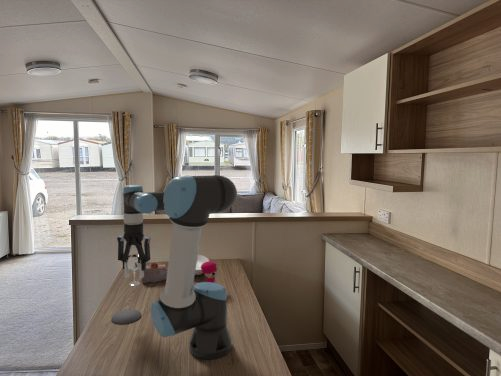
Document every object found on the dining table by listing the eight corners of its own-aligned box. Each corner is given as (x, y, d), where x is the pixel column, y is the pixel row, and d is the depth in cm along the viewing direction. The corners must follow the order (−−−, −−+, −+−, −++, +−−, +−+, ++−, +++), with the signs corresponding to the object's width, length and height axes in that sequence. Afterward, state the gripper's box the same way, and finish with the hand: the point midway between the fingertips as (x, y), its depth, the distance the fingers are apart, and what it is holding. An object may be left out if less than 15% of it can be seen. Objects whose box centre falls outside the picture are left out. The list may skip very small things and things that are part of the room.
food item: (166, 276, 193) (165, 260, 192) (167, 281, 185) (167, 264, 185) (141, 279, 188) (140, 262, 187) (142, 284, 180) (141, 267, 180)
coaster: (133, 324, 137) (133, 323, 137) (105, 323, 138) (105, 321, 138) (145, 311, 149) (145, 310, 149) (120, 310, 150) (120, 308, 150)
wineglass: (137, 280, 144) (136, 252, 143) (144, 283, 140) (144, 255, 139) (124, 283, 140) (124, 255, 139) (131, 287, 136) (131, 258, 135)
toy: (214, 293, 169) (214, 264, 168) (198, 292, 171) (198, 263, 169) (219, 287, 177) (219, 259, 176) (204, 286, 179) (204, 258, 178)
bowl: (183, 264, 215) (183, 255, 215) (206, 263, 219) (206, 254, 218) (185, 281, 186) (185, 270, 186) (212, 279, 190) (212, 268, 189)
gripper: (159, 221, 140) (159, 275, 142) (116, 220, 142) (117, 272, 145) (151, 225, 133) (152, 282, 135) (107, 223, 135) (108, 279, 137)
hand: (134, 277), depth 140 cm, fingers closed on wineglass, 6 cm apart
